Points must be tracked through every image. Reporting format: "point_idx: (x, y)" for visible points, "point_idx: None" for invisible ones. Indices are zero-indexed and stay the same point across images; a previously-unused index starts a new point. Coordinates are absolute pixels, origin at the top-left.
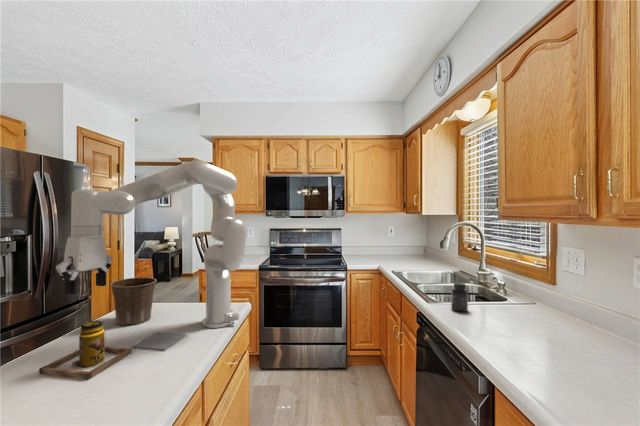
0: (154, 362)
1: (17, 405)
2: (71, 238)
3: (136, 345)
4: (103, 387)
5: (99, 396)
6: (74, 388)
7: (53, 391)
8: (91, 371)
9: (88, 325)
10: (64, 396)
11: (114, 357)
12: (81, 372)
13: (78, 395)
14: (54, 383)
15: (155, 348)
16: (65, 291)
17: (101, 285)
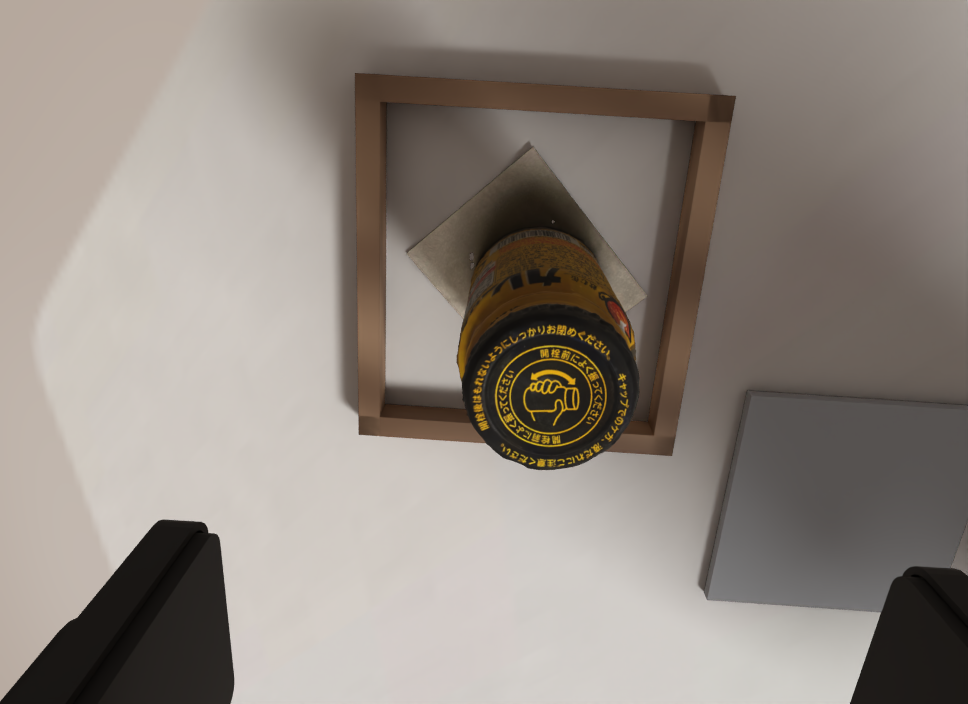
0: (567, 610)
1: (108, 277)
2: None
3: (760, 418)
4: (321, 533)
5: (260, 563)
6: (284, 415)
7: (240, 339)
8: (384, 427)
9: (497, 404)
10: (222, 425)
11: None
12: (364, 385)
13: (244, 477)
14: (298, 275)
15: (717, 547)
16: (143, 553)
17: (857, 694)
